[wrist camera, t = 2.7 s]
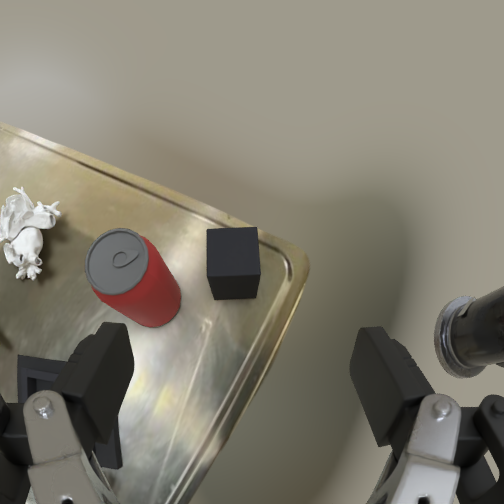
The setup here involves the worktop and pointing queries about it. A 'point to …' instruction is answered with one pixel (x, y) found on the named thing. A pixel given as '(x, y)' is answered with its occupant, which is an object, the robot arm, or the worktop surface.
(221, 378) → the worktop surface
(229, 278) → the pad block
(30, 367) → the base pad
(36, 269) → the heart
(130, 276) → the beer can
